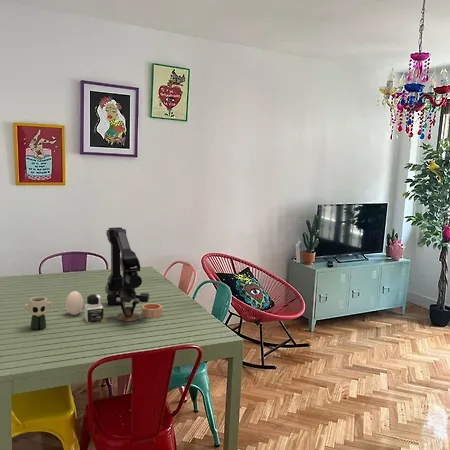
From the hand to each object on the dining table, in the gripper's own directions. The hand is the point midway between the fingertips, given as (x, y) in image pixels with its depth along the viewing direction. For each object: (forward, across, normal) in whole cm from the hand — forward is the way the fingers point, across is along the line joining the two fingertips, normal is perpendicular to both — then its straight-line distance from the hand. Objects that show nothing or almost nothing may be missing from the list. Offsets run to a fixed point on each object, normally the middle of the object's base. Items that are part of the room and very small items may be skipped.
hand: (128, 314), depth 212 cm
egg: (+3, -26, +4) cm, 26 cm away
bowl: (+2, +10, +7) cm, 12 cm away
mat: (+2, 0, 0) cm, 2 cm away
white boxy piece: (+3, -15, -3) cm, 16 cm away
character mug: (+3, -36, -14) cm, 39 cm away
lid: (+2, 0, 0) cm, 2 cm away
